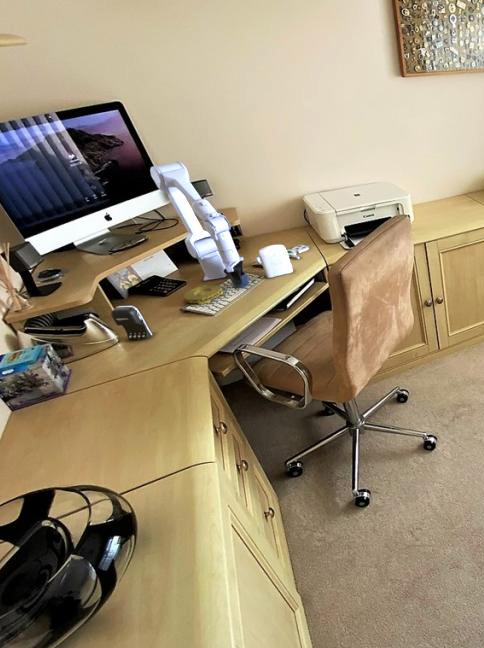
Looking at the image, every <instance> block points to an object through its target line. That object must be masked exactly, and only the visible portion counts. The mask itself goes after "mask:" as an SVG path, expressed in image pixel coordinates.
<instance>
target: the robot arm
mask: <svg viewBox="0 0 484 648" xmlns="http://www.w3.org/2000/svg"><path fill="white" fill-rule="evenodd" d="M149 171H150V176H151V178H152V180H153V181H154V183H155V185H156V187H157V189H158V190H159V191H162V192H165V194H166V195H167V197H168V199H169V201H170V203H171V204H172V205H173V207H174V209H175V211H176V213H177V215H178V216H179V218H180V220H181V222H182V223H183V225H184V227H185V229H186V231H187V233H188V235H187V236H186V238H185V239H184V243H185V245H186V248H187V252H188V253H189V254H190V255H191V257H192V258H193V259H197V260H198V262H199V265H200V267H201V269H202V271H203V273H204V278H203V281H204V282H206V281H212V280H217V279H224V278H226V277H227V276H228V278H229V279H230V278H231V279H232V281H233V282H234V283H235V284H236V285H241V284H242V279H241V275H240V272H244V265H243V264H244V263H243V262H244V257H243V256H240V255H239V253H238V250H237V248H236V245H235V243H234V240H233V237H232V235H231V232H230V230H231V224H230V221H229V220H228V219H227V217H226V216H225V215H222V214H221V213H220V212H217V210H216V209H215V208H214V207H213V206H212V205H211V203H210V202H209V201H208V200H207V199H204V198H202V197H201V196H200V194H199V193H198V191H197V190H196V188H195V187H194V185H193V184H192V183H191V181H190V175H189V172H188V168H187V167H186V166H185V164H183V163H182V162H181V161H175V162H171V163H167V164H166V163H165V164H161V165H157V166H151V167H150V170H149ZM189 202H190V203H191V204H192V205H190V203H189ZM196 215H197V216H196ZM197 217H198V218H199V219H200V220H201V221H202V222H203V225H204V229H203V227H202V225H201V223H200V221H199V219H198V218H197ZM231 279H230V280H231Z"/></svg>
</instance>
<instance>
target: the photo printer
mask: <svg viewBox="0 0 484 648" xmlns="http://www.w3.org/2000/svg"><path fill="white" fill-rule="evenodd" d="M287 250H288V249H286V247H285V245H284V244H272V245H268V246H264V247H262V248H260V249H259V250H258V256H259V257H260V260H261V263H262V264H261V265H262V268H263V271H264V274H265V276H266V278H267V279H270V278H271V279H272V278H275V277H279V276H284V275H288V274H291V273H293V272H294V269H293V266H292V262H291V259H290V257H289V256H288V253H287Z"/></svg>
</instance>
